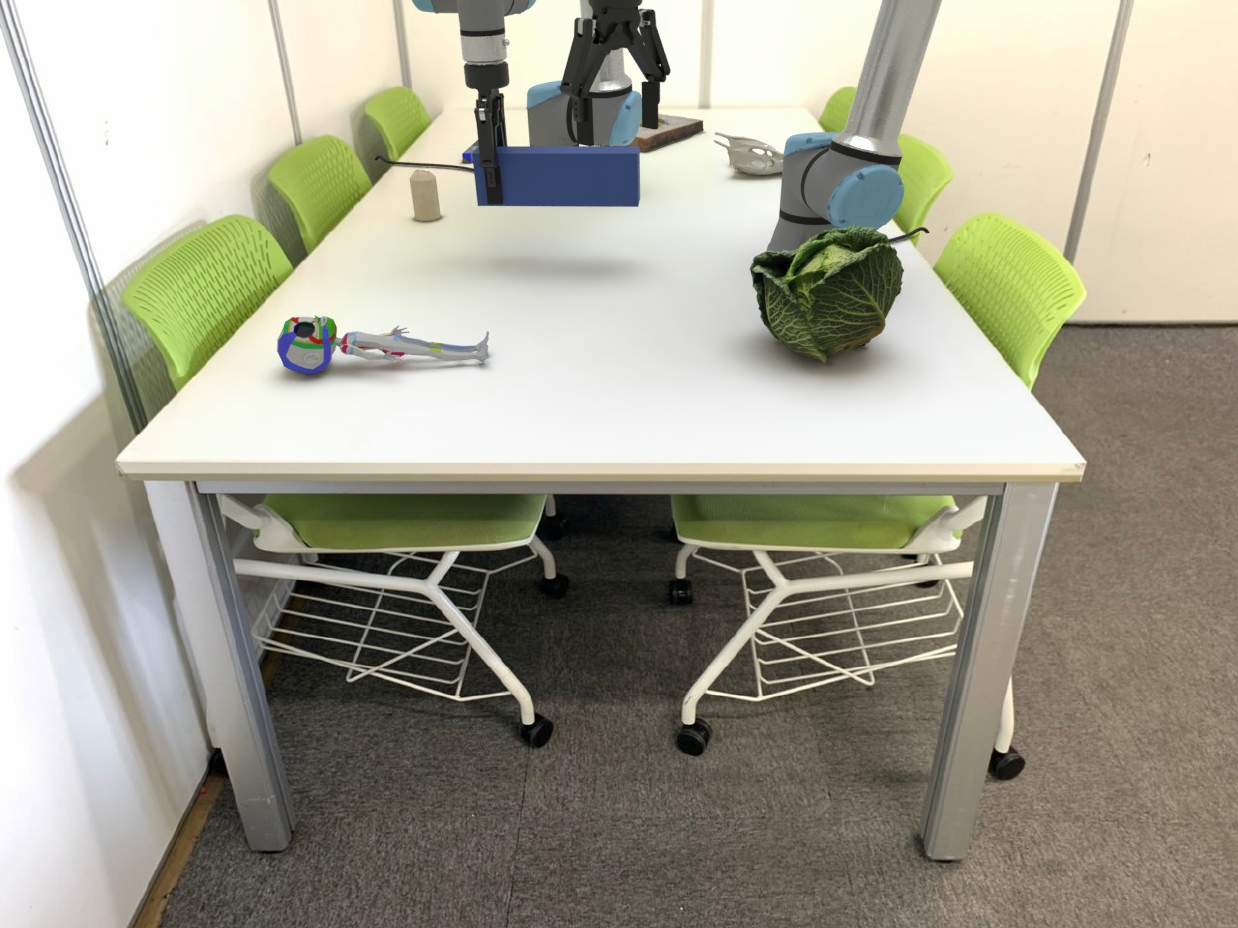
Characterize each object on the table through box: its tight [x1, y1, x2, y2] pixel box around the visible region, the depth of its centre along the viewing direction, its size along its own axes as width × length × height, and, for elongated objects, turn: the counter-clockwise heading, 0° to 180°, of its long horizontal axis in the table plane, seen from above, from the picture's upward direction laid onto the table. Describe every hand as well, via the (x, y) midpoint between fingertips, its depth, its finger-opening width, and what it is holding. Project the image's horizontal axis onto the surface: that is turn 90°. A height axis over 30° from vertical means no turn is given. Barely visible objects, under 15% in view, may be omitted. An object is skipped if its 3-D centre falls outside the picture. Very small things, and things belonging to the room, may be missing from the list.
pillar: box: [461, 139, 479, 164], centre depth 243 cm, size 2×2×20 cm
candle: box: [409, 169, 441, 222], centre depth 192 cm, size 6×6×10 cm
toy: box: [276, 314, 490, 375], centre depth 132 cm, size 10×8×30 cm
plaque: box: [597, 113, 705, 152], centre depth 257 cm, size 30×7×30 cm
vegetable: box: [749, 225, 905, 365], centre depth 131 cm, size 20×19×20 cm
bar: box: [472, 145, 641, 208], centre depth 161 cm, size 29×5×9 cm, turn 85°
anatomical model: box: [713, 131, 784, 176], centre depth 220 cm, size 15×9×25 cm
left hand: (498, 198), depth 164 cm, fingers closed on bar, 5 cm apart
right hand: (618, 136), depth 133 cm, fingers open, 13 cm apart
